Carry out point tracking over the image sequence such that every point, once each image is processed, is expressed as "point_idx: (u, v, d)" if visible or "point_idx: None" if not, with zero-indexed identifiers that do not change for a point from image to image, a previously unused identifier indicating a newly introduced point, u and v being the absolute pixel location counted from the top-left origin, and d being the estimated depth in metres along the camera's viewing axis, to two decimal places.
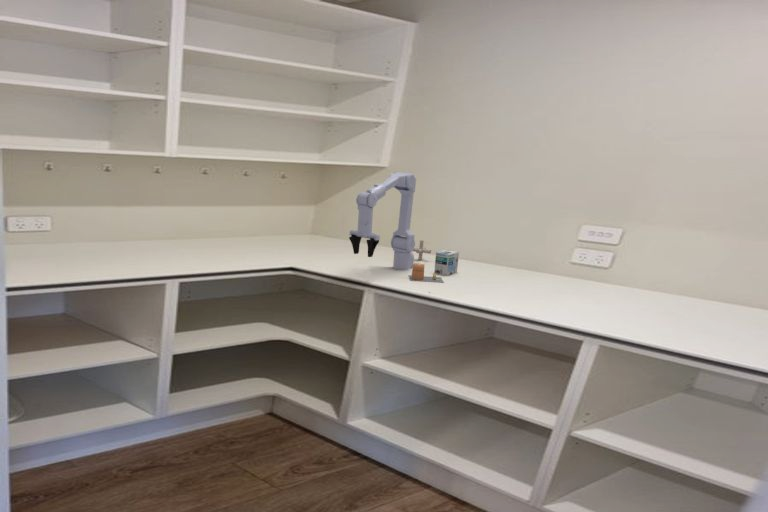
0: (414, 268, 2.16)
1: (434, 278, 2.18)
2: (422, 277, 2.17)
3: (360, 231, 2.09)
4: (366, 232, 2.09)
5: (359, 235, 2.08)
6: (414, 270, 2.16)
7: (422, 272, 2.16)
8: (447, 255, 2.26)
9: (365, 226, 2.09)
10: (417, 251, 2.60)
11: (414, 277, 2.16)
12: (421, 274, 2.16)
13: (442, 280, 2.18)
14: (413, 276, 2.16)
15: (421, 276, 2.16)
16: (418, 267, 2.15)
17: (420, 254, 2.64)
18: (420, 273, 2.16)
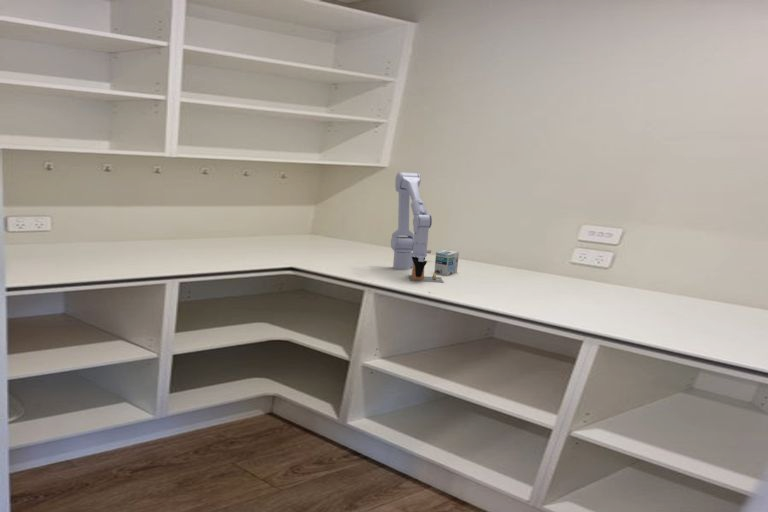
0: (414, 268, 2.16)
1: (434, 278, 2.18)
2: (422, 277, 2.17)
3: (413, 251, 2.16)
4: (416, 252, 2.14)
5: (410, 254, 2.15)
6: (414, 270, 2.16)
7: (422, 272, 2.16)
8: (447, 255, 2.26)
9: (415, 246, 2.14)
10: None
11: (414, 277, 2.16)
12: None
13: (442, 280, 2.18)
14: (413, 276, 2.16)
15: (421, 276, 2.16)
16: None
17: None
18: None
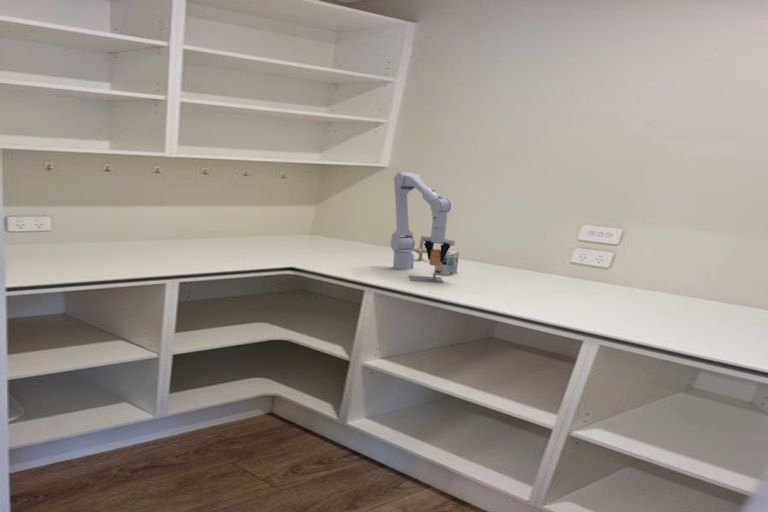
0: (437, 254, 2.14)
1: (434, 278, 2.18)
2: None
3: (436, 237, 2.13)
4: (441, 238, 2.13)
5: None
6: (438, 256, 2.14)
7: None
8: (447, 255, 2.26)
9: (441, 232, 2.12)
10: (417, 251, 2.60)
11: (438, 264, 2.15)
12: None
13: (442, 280, 2.18)
14: (437, 263, 2.15)
15: None
16: None
17: (420, 254, 2.64)
18: None
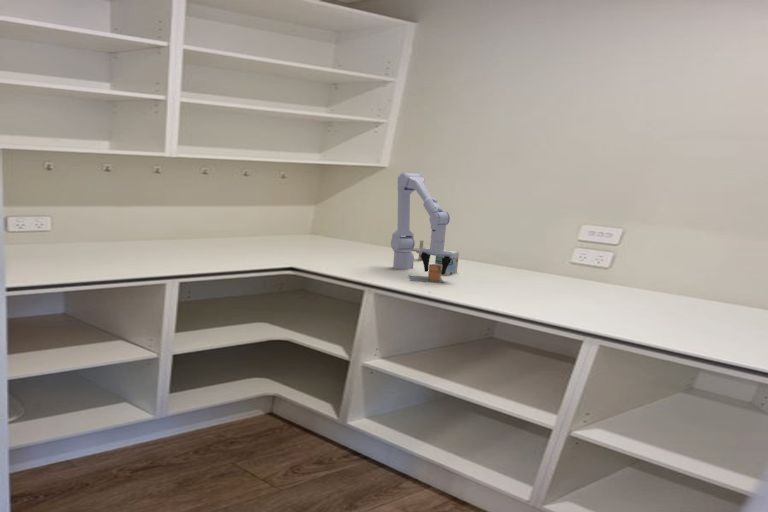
0: (436, 270, 2.15)
1: None
2: None
3: (434, 250, 2.14)
4: (440, 250, 2.14)
5: (434, 254, 2.13)
6: (436, 272, 2.16)
7: None
8: None
9: (440, 245, 2.13)
10: (417, 251, 2.60)
11: (437, 279, 2.16)
12: None
13: (442, 280, 2.18)
14: (435, 278, 2.16)
15: None
16: (440, 268, 2.16)
17: (420, 254, 2.64)
18: (440, 273, 2.18)
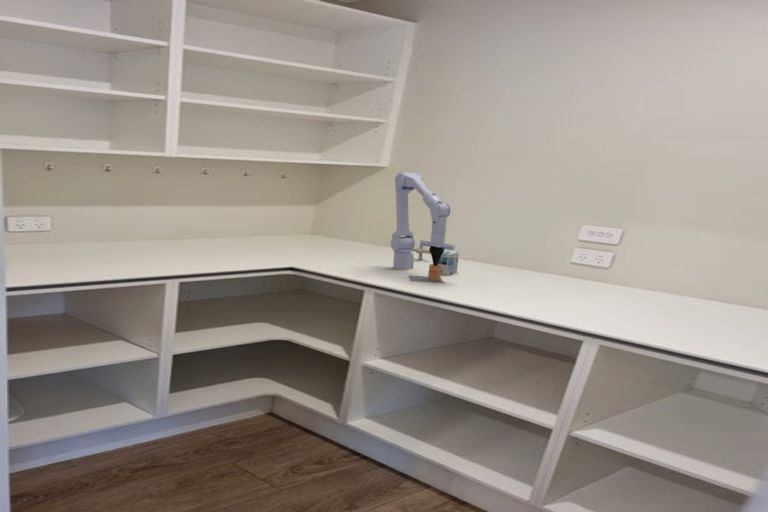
0: (436, 270, 2.15)
1: None
2: None
3: (435, 242, 2.13)
4: (441, 242, 2.13)
5: (435, 246, 2.12)
6: (436, 272, 2.16)
7: None
8: (447, 255, 2.26)
9: (440, 237, 2.12)
10: (417, 251, 2.60)
11: (437, 279, 2.16)
12: None
13: (442, 280, 2.18)
14: (435, 278, 2.16)
15: None
16: (440, 268, 2.16)
17: (420, 254, 2.64)
18: (440, 273, 2.18)
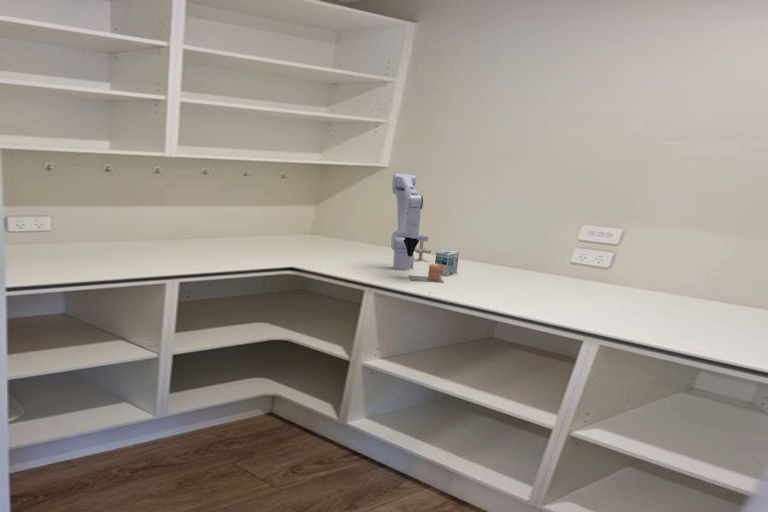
0: (436, 270, 2.15)
1: None
2: None
3: (409, 233, 2.15)
4: (415, 234, 2.15)
5: (409, 237, 2.14)
6: (436, 272, 2.16)
7: None
8: (447, 255, 2.26)
9: (414, 228, 2.15)
10: (417, 251, 2.60)
11: (437, 279, 2.16)
12: None
13: (442, 280, 2.18)
14: (435, 278, 2.16)
15: None
16: (440, 268, 2.16)
17: (420, 254, 2.64)
18: (440, 273, 2.18)
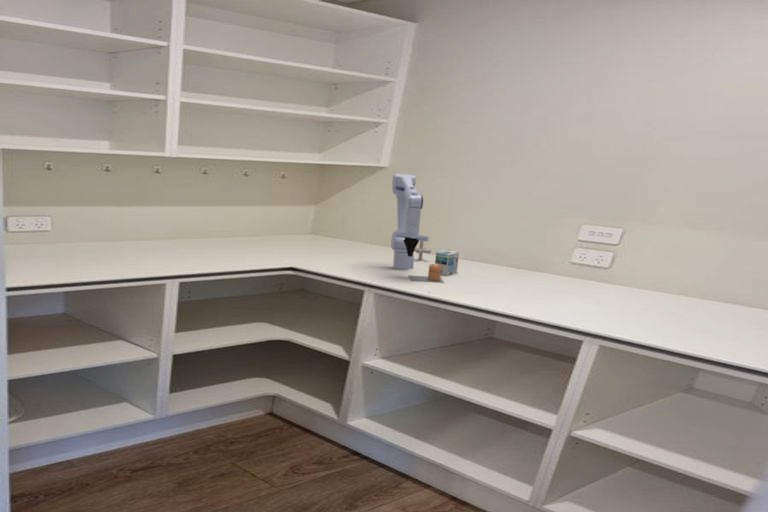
0: (436, 270, 2.15)
1: None
2: None
3: (409, 233, 2.15)
4: (415, 234, 2.15)
5: (409, 237, 2.14)
6: (436, 272, 2.16)
7: None
8: (447, 255, 2.26)
9: (414, 228, 2.15)
10: (417, 251, 2.60)
11: (437, 279, 2.16)
12: None
13: (442, 280, 2.18)
14: (435, 278, 2.16)
15: None
16: (440, 268, 2.16)
17: (420, 254, 2.64)
18: (440, 273, 2.18)
